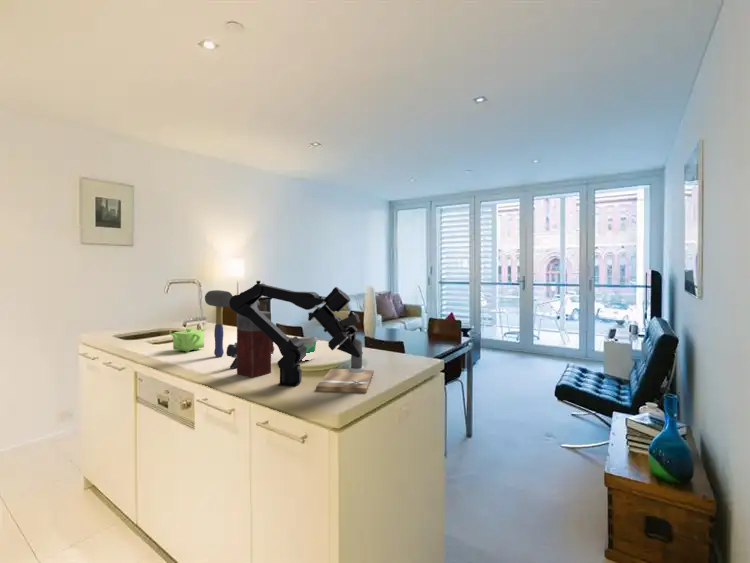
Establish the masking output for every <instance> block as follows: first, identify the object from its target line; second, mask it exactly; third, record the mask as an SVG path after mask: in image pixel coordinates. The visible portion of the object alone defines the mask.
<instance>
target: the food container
mask: <svg viewBox="0 0 750 563" xmlns="http://www.w3.org/2000/svg"><path fill="white" fill-rule="evenodd" d="M290 338H293V337H292V336H290ZM297 338H298V339H299V340H300V341H301V342H302V343H304V346H305V347H306V353H310V352H314V351H315V352H316V346H317V342H318V337H317V336H314V337H300V338H299V337H297Z"/></svg>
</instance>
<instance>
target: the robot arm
mask: <svg viewBox="0 0 750 563" xmlns="http://www.w3.org/2000/svg"><path fill="white" fill-rule="evenodd" d="M232 296H233V297H231V299H230V302H229V304H230V305H229V306H228V307H229V308H230V309H231V310H232V311H233V312H235V313H236V314H237V313H238V314H239V315H241V316H244V317H246V318H248V319H249V320H251V321H252V322H253V323H254V324H255V325H256V326H257V327H258V328H259V329H260V330H261V331H262V332H263V333H264V334H265V335H267V336H268V337H269V338H270V339H271V340H272V341H273V344H275V345H276V347H278V349H279V352H280V355H282V357H281V358H280V359H278V361H277V366H278V368H279V382H278V383H277V385H278V386H284V387H285V386H287V387H289V386H290V387H291V386H292V387H296V386H298V385H299V384H300V383H302V381H303V380H302V377H303V376H302V370H303V369H301V365H300V364H301V363H302V361H301V360H302V359H303V358H304V357H305V356H306V347H305V346H304V343H302V342H301V341H300V340H299V339H298V338H299V337H297V336H296V335H295V336H293V337H292V338H291V336H290V337H289V336H288V335H287V334H286V333H285V332H284V331H283V330H281V328H279V327H278V326H277V325H276V324H275V323H274V322H272V320H271V321H270V320H269V319H268V318H267V317H266V316H265V315H264V314H263V313H262V312H261V311H262V310H260V308H259V309H258V306H257V304H256V301H257V300H258V301H259V299H261V298H262V297H266V298H270V299H274V300H279V301H284V302H289V303H290V304H293V305H295V306H297V307H298V308H300V309H303V310H306V311H309V310H313V309H314V311H312V312H308V314H307V315H308V317H307V318H308V319H307V320H308V321H309V322H311V321H313V320H314V319H315V320H316V321H317V322H318V324H320V326H321V327H322V328H323V332H324V333H327V334H328V335H329V336H330V337H331V339H330V340H329V341H328V343H327V344H328V348H329V349H331V351H334V350H335V349H336V350H339V351H340V352H343V353H346V354H348V355H353V356H355V357H357V358H359V357H360V354H359V352H358V351H357V349H356V348H355V346H354V345H353V344H352V342H353V340H354V339H357V338H356V337H357V331H358V328H357V327H356V325H357V324H359V323H361V320H360V315H358V313H355V312H354V311H353V312H350V313H347V317H345V318H342V317H340V316H336V315H335V312H337V313H339V312H341V311H342V310H343V308H345V307H346V306H347V305H348V304H349V303H350V302H351V298H350V297H349V296H348V294H347V293H346V292H344V291H342V289H340V288H339V287H338V286H334V287H333V289H332V291H331V292H330V293H329V294H328V295H326V296H322V295H320V294H319V293H317V292H315V291H294V290H291V289H286V288H282V287H277V286H272V285H268V284H265V283H256V284H254V285H253V286H252V287H250V288H248V289H247V290H245V291H242V292H241V293H239V294H234V295H232ZM320 305H323V306H321V307H320ZM362 355H363V351H362Z"/></svg>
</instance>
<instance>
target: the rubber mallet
mask: <svg viewBox="0 0 750 563" xmlns="http://www.w3.org/2000/svg"><path fill="white" fill-rule="evenodd" d="M233 296H234V295H233V294H232V293H231V292H229V291H227V290H219V289H218V290H217V289H215V290H209V291H207V292H206V293H205V295H204V301H205V303H206V304H207V305H208V306H211V307H215V325H214V352H213V353H214V355H215V357H217V358H218V357H223V355H224V353H225V352H224V343H223V341H224V327H223V308H226V307H227V308H228V307H230V306H229V305H230V304H229V302H230V299H231V297H233Z"/></svg>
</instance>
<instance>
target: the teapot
mask: <svg viewBox="0 0 750 563" xmlns="http://www.w3.org/2000/svg"><path fill="white" fill-rule="evenodd" d="M206 330H207V328H203V329H201V330H197V329H196V330H195V329H192V328H186V329H185V330H183V331H176V332H173V333H170V334H169V335H170V336H172V338H173V339H172V349H173V350H175V351H176V350H178V352H185V353H191V351H192V350H194V351H200V349H202V348H205V331H206Z"/></svg>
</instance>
